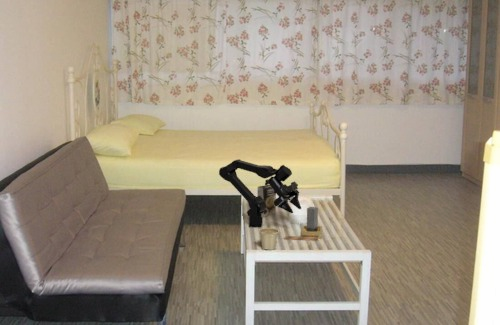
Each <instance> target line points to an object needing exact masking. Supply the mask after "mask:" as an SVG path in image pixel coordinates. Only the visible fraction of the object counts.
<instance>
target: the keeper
mask: <svg viewBox="0 0 500 325" xmlns="http://www.w3.org/2000/svg"><path fill="white" fill-rule="evenodd" d="M301 226H302V227H301V237H318V240H322V239H323V226H322V225H317V231H307V225H301Z"/></svg>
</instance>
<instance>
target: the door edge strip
mask: <svg viewBox="0 0 500 325" xmlns="http://www.w3.org/2000/svg"><path fill="white" fill-rule="evenodd" d="M284 240H287V241H288V240H290V241H316V242H317V241H319V239H318V237H302V236H297V235H295V236H293V235H291V236H290V235H285V237H284Z"/></svg>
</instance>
